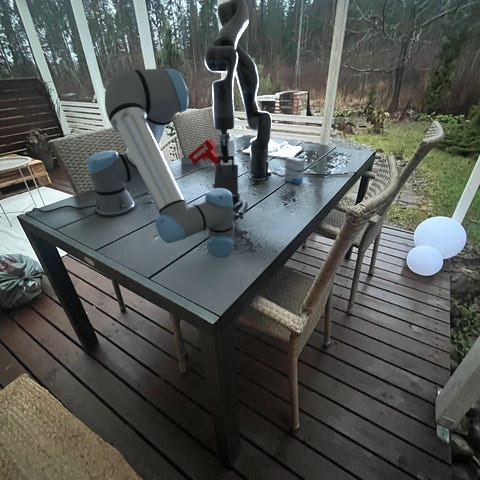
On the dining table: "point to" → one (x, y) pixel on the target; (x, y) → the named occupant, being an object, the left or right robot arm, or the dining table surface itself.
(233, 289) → the dining table surface
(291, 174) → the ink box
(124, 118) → the left robot arm
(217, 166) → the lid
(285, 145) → the relief map
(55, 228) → the dining table surface
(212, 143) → the toy gun
